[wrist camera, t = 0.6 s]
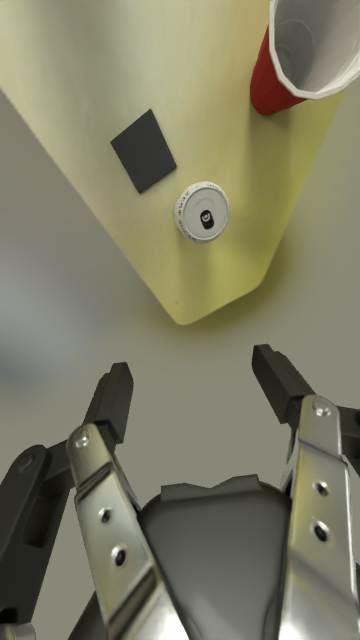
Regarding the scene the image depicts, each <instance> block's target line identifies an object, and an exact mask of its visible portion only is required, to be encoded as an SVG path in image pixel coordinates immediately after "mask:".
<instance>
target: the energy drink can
mask: <svg viewBox="0 0 360 640" xmlns="http://www.w3.org/2000/svg"><path fill="white" fill-rule="evenodd" d="M173 217H174V220H175V223H176V224H177V226H178V228H179V229H180V231H181V233H182V234H183V235H184V236H185V237H186V238H187V239H188V240H190V241H192V242H194V243H208V242H210V241H213V240H214V239H216V238H217V237H218V236H219V235H220V234H221V233H222V232H223V230H224V229H225V227H226V225H227V222H228V219H229V202H228V199H227V196H226V194H225V193H224V191H223V190H222V189H221V188H220V187H219V186H218V185H216V184H214V183H212V182H208V181H202V182H197V183H195V184H193V185H191V186H190V187H188V188H187V189H186V190H185V191H184V192H183V193H182V194H181V195H180V196H179V197H178V198H177V200H176V202H175V204H174V208H173Z"/></svg>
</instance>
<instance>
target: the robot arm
mask: <svg viewBox="0 0 360 640" xmlns="http://www.w3.org/2000/svg"><path fill="white" fill-rule="evenodd" d="M252 369H253V372H254V374H255V376H256V378H257V380H258V382H259V384H260V385H261V387H262V389H263V391H264V393H265V395H266V397H267V399H268V401H269V403H270V405H271V407H272V408H273V410H274V412H275V414H276V416H277V418H278V420H279V422H280V424H285V423H288V424H289V426H290V427H291V431H290V436H289V443H288V449H287V456H286V462H285V467H284V472H283V475H282V479H281V484H280V490H279V489H277V488H276V487H273V486H272V485H270V484H267V483H264V482H261V481H259V478H258V476H257V474H253V475H246V476H237V477H233V478H230V479H228V480H226V481H224V482H222V483H220V484H219V485H217V486H215V487H213V488H205V487H201V486H196V485H191V484H187V483H181V484H173V485H165V486H161V493H160V494H158V495H157V496H156V497H154V498H152V499H151V500H150V501H149V502H148V503H147V504H146V505H145V506H144V507H143V508H142V507H141V505H140V503H139V501H138V499H137V497H136V495H135V493H134V491H133V490H132V488H131V486H130V484H129V482H128V480H127V478H126V476H125V474H124V472H123V470H122V467H121V466H120V463H119V461H118V459H117V457H116V455H115V453H114V451H115V447H116V444H121V443H123V441H124V435H125V430H126V424H127V419H128V413H129V407H130V402H131V397H132V392H133V378H132V375H131V373H130V370H129V367H128V365H127V363H126V362H122V363H114V364H113V365H112V368H111V371H110V373H105V374H104V375H103V377H102V378H101V379H100V380H99V383H98V385H97V388H96V391H95V393H94V397H93V398H92V401H91V403H90V406H89V408H88V411H87V414H86V416H85V419H84V421H83V423H82V425H81V426H79V427H78V428H76V430H74V431H73V432H72V434H71V435H70V436H69V438H68V439H67V440H65V441H63V442H60V443H58V444H56V445H54V446H52V447H50V448H47V449H46V448H45V447H44V446H43V445H34V446H32V447H30V448H28V449H26V450H25V451H23V453H21V454H20V455H19V456H18V457H17V458H16V459H15V461H14V462H13V463H12V465H11V467H10V469H9V470H8V472H7V474H6V476H5V478H4V479H3V481H2V483H1V485H0V640H36V633H35V629H34V627H33V626H32V624H30V623H31V619H32V616H33V613H34V609H35V606H36V603H37V599H38V596H39V593H40V589H41V586H42V582H43V579H44V576H45V572H46V569H47V566H48V563H49V559H50V556H51V552H52V549H53V546H54V542H55V539H56V536H57V532H58V529H59V526H60V522H61V519H62V516H63V512H64V509H65V505H66V502H67V499H68V495H69V492H70V489H71V488H73V487H75V486H76V490H77V494H76V496H75V498H74V503H75V508H76V512H77V516H78V520H79V524H80V528H81V532H82V537H83V541H84V545H85V549H86V552H87V557H88V561H89V565H90V569H91V573H92V577H93V581H94V585H95V589H96V590H95V591H94V593H93V595H92V597H91V599H90V600H89V602H88V604H87V606H86V607H85V610H84V611H83V613H82V615H81V616H80V618H79V620H78V622H77V624H76V625H75V627H74V629H73V631H72V632H71V634H70V636H69V638H68V640H360V565H359V564H358V563H356V562H355V550H354V534H353V520H352V505H351V490H350V475H349V468H348V465H347V463H346V462H344V461H343V459H342V455H345V456H346V457H347V459H348V460H349V462H350V463H351V465H352V466H353V468H354V469H355V471H356V472H357V474H358V475H359V477H360V409H359V410H358V409H352V408H346V407H340V406H336V405H334V404H333V403H332V402H331V401H329V400H328V399H326V398H324V397H322V396H319V395H317V394H316V393H315V392H314V391H313V390H312V388H311V387H310V386H309V385H308V383H307V382H306V381H305V380H304V378H303V377H302V376H301V375H300V373H299V372H298V371H297V370H296V368H295V367H294V366H293V365H292V363H291V362H290V361H289V360H288V358H287V357H286V356H285V355H283V354H281V353H280V352H279V351H275V352H274V351H273V350H272V348H271V347H270V346H269V345H268V344H262V345H255V346H254V349H253V357H252Z"/></svg>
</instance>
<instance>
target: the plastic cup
mask: <svg viewBox="0 0 360 640" xmlns="http://www.w3.org/2000/svg"><path fill="white" fill-rule="evenodd" d="M359 75H360V0H271V3H270V8H269V24H268V27H267V30H266V33H265V36H264V39H263V42H262V45H261V48H260V51H259V55H258V59H257V62H256V64H255V67H254V70H253V75H252V79H251V85H250V93H251V100H252V103H253V106H254V108H255V109H256V110H257V111H258V112H259V113H261V114H265V115H271V114H274V113H276V112H279V111H281V110H284V109H287V108H290V107H292V106H294V105H296V104H299V103H301V102H303V101H305V100H307V99H311V100H317V99H320V98H323V97H326V96H328V95H331V94H334V93H337V92H339V91H342V90H343V89H344V88H345V87H346V86H348V85H349V84H350V83H351V82H352V81H353V80H354V79H355V78H357V77H358V76H359Z"/></svg>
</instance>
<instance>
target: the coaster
mask: <svg viewBox="0 0 360 640" xmlns="http://www.w3.org/2000/svg"><path fill="white" fill-rule="evenodd" d="M110 143H111V144H112V146H113V148H114V150H115V151H116V153H117V155H118V157H119V159H120V160H121V162H122V164H123V166H124V167H125V169H126V171H127V173H128V174H129V176H130V178H131V180H132V181H133V183H134V185H135V187H136V189H137V190H138V192H139V193H141V192H143V191H144V190H145V189H147V188H148V187H150V186H151V185H152V184H154V183H155V182H156V181H158V180H159V179H160V178H162V177H163V176H165V175H166V174H167V173H169V172H170V171H171V170H173V169H174V168H176V164H175V162H174V160H173V157H172V155H171V153H170V151H169V148H168V146H167V144H166V142H165V139H164V137H163V135H162V133H161V130H160V128H159V126H158V124H157V121H156V119H155V117H154V115H153V112H152V110H151V109H149V110H148V111H147V112H146V113H144V114H143V115H142V116H141V117H140V118H138V119H137V120H136V121H135V122H134V123H133V124H131V125H130V126H129V127H128V128H127V129H125V130H124V131H123V132H122V133H121V134H119V135H118V136H117V137H116V138H115V139H113V140H112V141H111V142H110Z"/></svg>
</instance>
